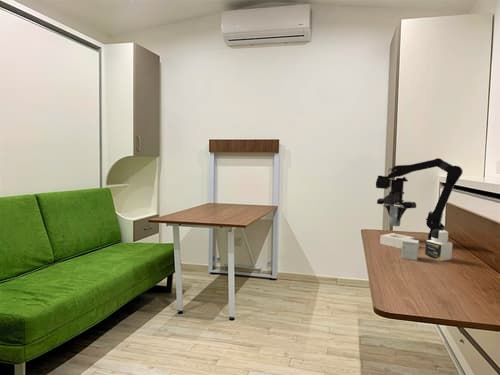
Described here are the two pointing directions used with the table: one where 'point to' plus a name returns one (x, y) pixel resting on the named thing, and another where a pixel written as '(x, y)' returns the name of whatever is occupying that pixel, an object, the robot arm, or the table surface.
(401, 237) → the socket block
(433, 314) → the table surface
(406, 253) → the product box
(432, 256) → the medicine bottle
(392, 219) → the peg
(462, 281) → the table surface
